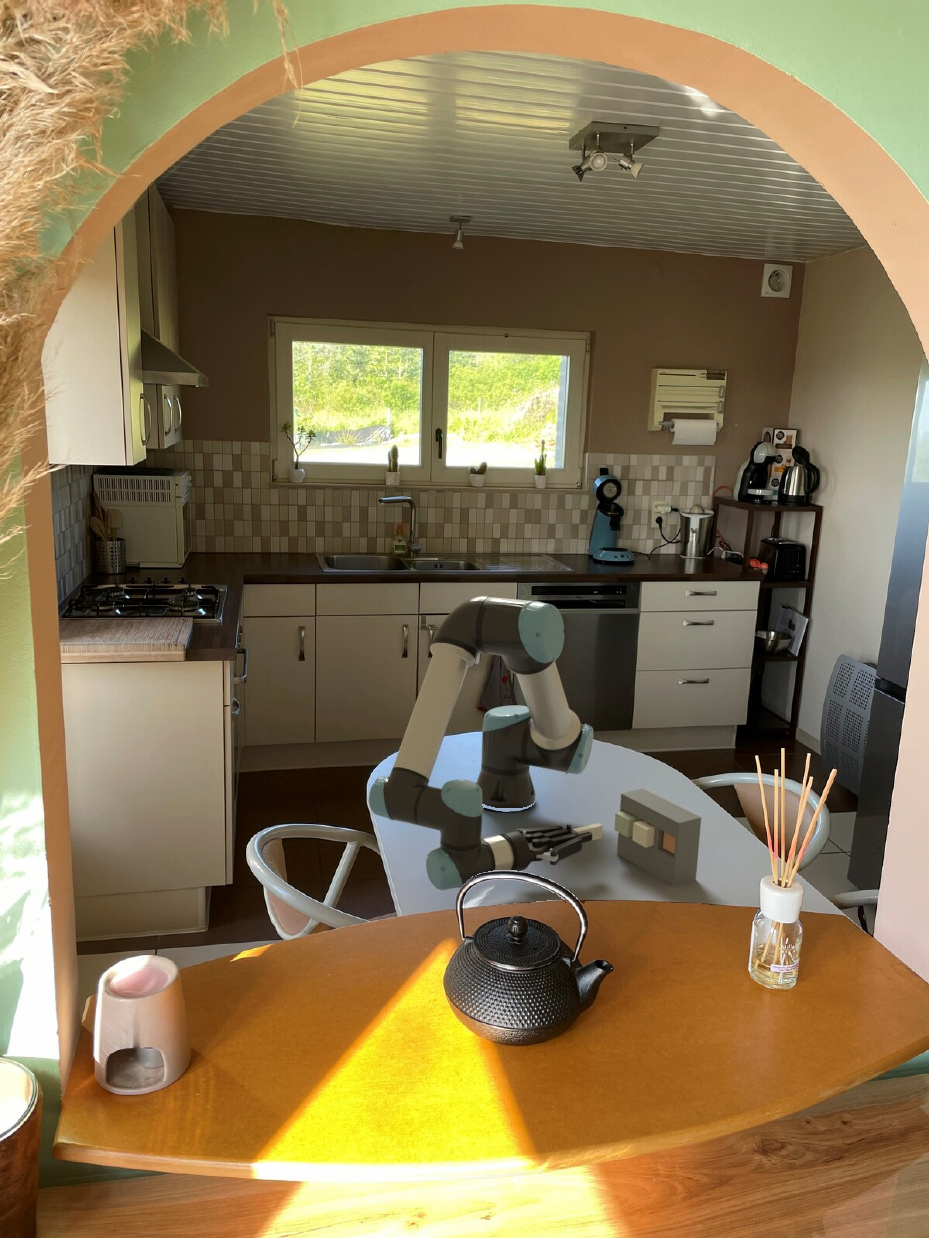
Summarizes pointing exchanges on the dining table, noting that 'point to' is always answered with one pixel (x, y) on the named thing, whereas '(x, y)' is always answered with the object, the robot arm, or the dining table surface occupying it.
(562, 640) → the robot arm
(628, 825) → the sage key
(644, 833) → the cream key
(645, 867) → the keypad
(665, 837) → the terracotta key
